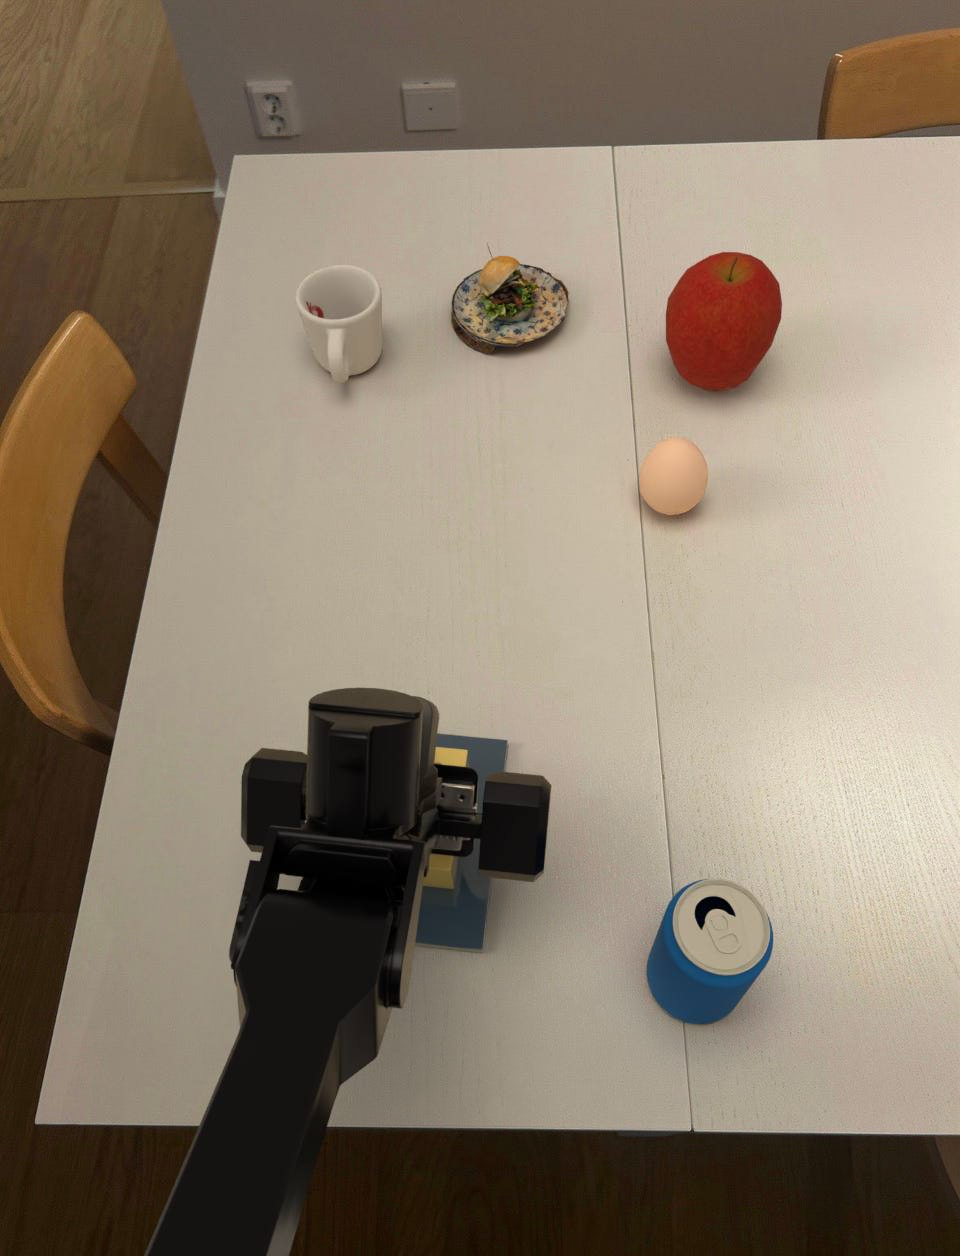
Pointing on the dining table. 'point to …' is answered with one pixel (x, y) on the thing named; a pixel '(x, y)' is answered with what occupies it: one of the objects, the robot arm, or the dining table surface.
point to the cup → (342, 318)
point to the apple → (722, 319)
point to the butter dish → (459, 860)
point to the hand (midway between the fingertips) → (418, 767)
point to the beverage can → (708, 950)
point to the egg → (673, 476)
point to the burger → (507, 304)
